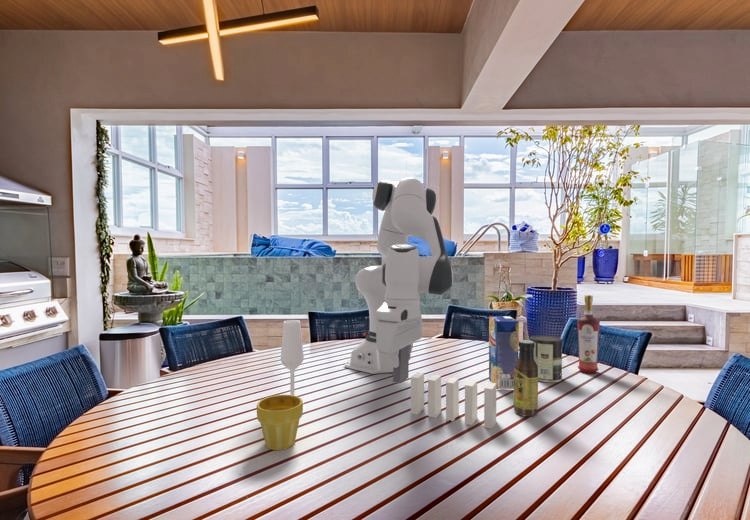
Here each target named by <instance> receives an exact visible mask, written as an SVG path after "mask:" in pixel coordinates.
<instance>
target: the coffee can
mask: <svg viewBox="0 0 750 520" xmlns="http://www.w3.org/2000/svg"><path fill="white" fill-rule="evenodd" d="M530 341H533V342H534V346H535V347H534V358H533V359H534V361H535V362H536V364H537V366H538V382H541V381H542V382H543V383H551V384H552V383H560V382H562V381H563V373H562V372H563V365H562V364H563V338H561V337H559V336H553V335H546V334H545V335H543V334H539V335H531V336H530Z"/></svg>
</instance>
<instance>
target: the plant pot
mask: <svg viewBox="0 0 750 520" xmlns="http://www.w3.org/2000/svg"><path fill="white" fill-rule="evenodd" d="M302 400H303V399H302V398H301V397H300V396H297V395H295V396H294V395H290V394H276V395H270V396H268V397H264V398H262V399H260V400H259V401H258V402H257V404H256V418H257V419H256V420H257V421H258V422H259V423H260V426H261V431H262V434H263V439H264V444H265V446H266V448H268V449H269V450H272V451H282V450H286V449H289V448H291V447H292V446H293V445H294V444H295V443H296V438H297V433H298V429H299V424H300V423H299V422H300V419H301V418H302V417H303V414H304V412H303V411H304V405H303V404H304V403H303V401H304V400H303V401H302Z"/></svg>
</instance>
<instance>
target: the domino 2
mask: <svg viewBox="0 0 750 520" xmlns="http://www.w3.org/2000/svg"><path fill="white" fill-rule="evenodd" d="M423 410H425V373H423V372H416V373H414V374H413V375H412V376H411V377H410V414H412V415H419V414H420V413H421V412H422V411H423Z"/></svg>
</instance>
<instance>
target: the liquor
mask: <svg viewBox="0 0 750 520" xmlns="http://www.w3.org/2000/svg"><path fill="white" fill-rule="evenodd" d="M593 299H594V296H593V295H589V294H588V295H587V294H586V295H584V313H583V316H582V317H579V318H578V319H577V340H578V341H577V343H578V366H577V368H578V369H579V371H580V372H581V373H584V374H590V375H591V374H592V373H593V374H595V373H596V372H598V371H599V367H598V359H599V358H598V357H599V342H600V341H599V339H600V328H601V327H600V325H601V323H600V320H599V319H597V318H596V317H594V310H593V302H594V301H593Z"/></svg>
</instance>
